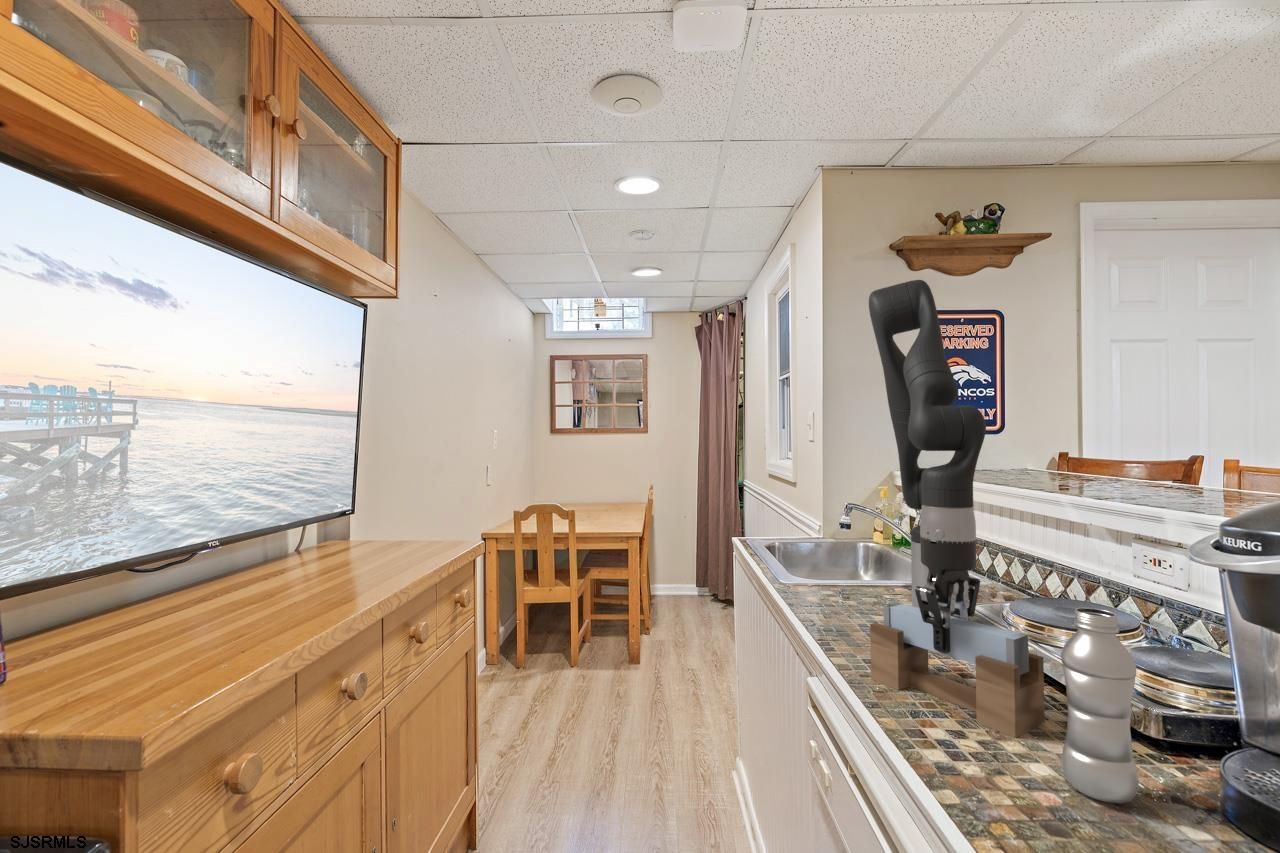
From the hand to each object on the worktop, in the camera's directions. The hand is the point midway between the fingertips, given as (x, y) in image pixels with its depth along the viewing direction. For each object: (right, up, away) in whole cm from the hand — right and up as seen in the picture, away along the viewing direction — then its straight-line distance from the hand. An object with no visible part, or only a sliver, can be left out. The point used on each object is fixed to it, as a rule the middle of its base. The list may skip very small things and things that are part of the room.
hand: (949, 648), depth 87 cm
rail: (0, -1, 0) cm, 1 cm away
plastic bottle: (+4, -7, -24) cm, 25 cm away
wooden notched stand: (0, -8, 0) cm, 8 cm away
